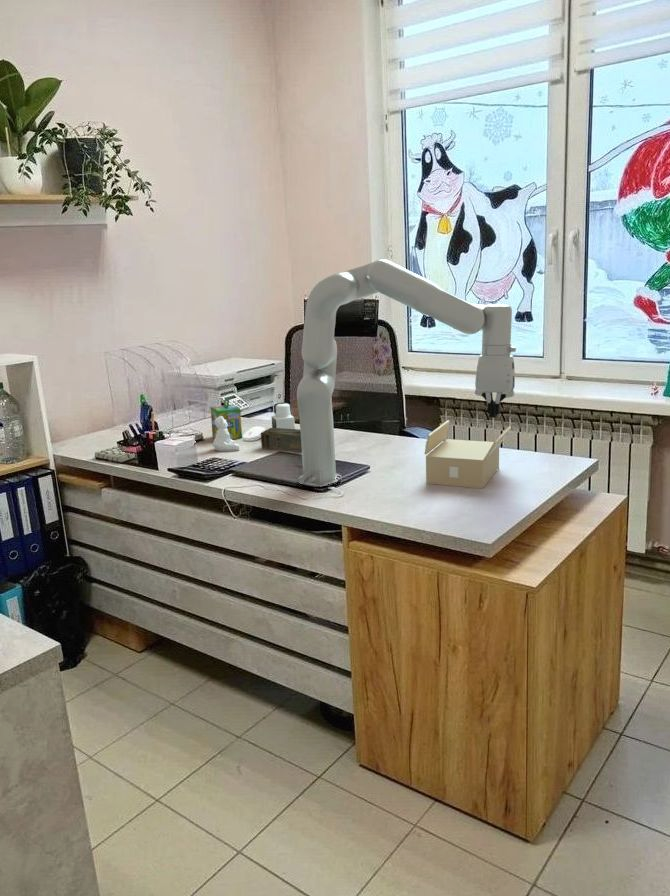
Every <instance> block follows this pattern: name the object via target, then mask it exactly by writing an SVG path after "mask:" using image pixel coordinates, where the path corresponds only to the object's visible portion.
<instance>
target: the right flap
mask: <svg viewBox="0 0 670 896" xmlns="http://www.w3.org/2000/svg"><path fill="white" fill-rule="evenodd" d="M511 428H512V427H511V426H510V425H509V426H508V427H507V428H506V429H505V430H504V431H503V432H502V433H501V434H500V435H499V436H498V437H497V438H496V439H495V441H493V442H494V443H493V445H492V446H491V448H490V450H489V451H488V453H487V455H486V456H485V458H484V459H485V460H486V459H487V458H488V457H489V456H490V455H491V454H492V453H493V452H494V451H495V449H496V448H497V447H498V446H499V447H500V446H501V444H502V443H503V441H504V440H505V439H506V437H507V435H508V434H509V431H510V430H511Z"/></svg>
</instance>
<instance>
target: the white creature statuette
mask: <svg viewBox="0 0 670 896" xmlns="http://www.w3.org/2000/svg"><path fill="white" fill-rule="evenodd" d="M226 421H227V420H225V419H224V418H223V416H219V417H218V418H216V419H215V425H216V426H217V428H218V430H217V433H216V438H214V440H213V442H212V447H213V448H214V450H216V451H218V452H238V451H240V445H239V444H238V443H236V441H235V439H230V436H229V435H230V434H229V432H228V429H227V426H228V424H227V422H226Z"/></svg>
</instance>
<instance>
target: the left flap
mask: <svg viewBox="0 0 670 896" xmlns="http://www.w3.org/2000/svg"><path fill="white" fill-rule="evenodd" d="M449 425H450V420H449V419H448V420H446V421H445V422H443V423H442V424H441V425H440V426H437V428H435V429H434V430H433V431H431V432H430V433H429V434H428V435H427V440H426V441H425V442H426V443H425V448H424V455H425V456H427V455H428V454H429V453H430V452H431V451H433V450H434V449H435V448H436V447H437V446H439V445H440V444H441V443H442V442H444V441H445V440H446V439H447V435H448V432H449V431H448V430H449V427H450V426H449Z"/></svg>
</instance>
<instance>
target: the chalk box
mask: <svg viewBox="0 0 670 896" xmlns="http://www.w3.org/2000/svg"><path fill="white" fill-rule="evenodd" d="M229 403H230V398H227V397H225V398H224V401H223V405H217V406H210V416H211V417H210V419H211V420H210V421H211V432H212V433H211V435H212V438H214V439H215V438H216V433H217V430H218V428H217V426H216V425H215V419H216V418H218V417H219V416H223V418H224V419H225V420H227V421H226V422H227V424H228V426H227V429H228V432H229V434H230V435H229V436H230V439H232V440H239V439H243V430H242V429H243V428H242V415H241V408H240V407H239V406H237V405H236V404H229Z"/></svg>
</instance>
